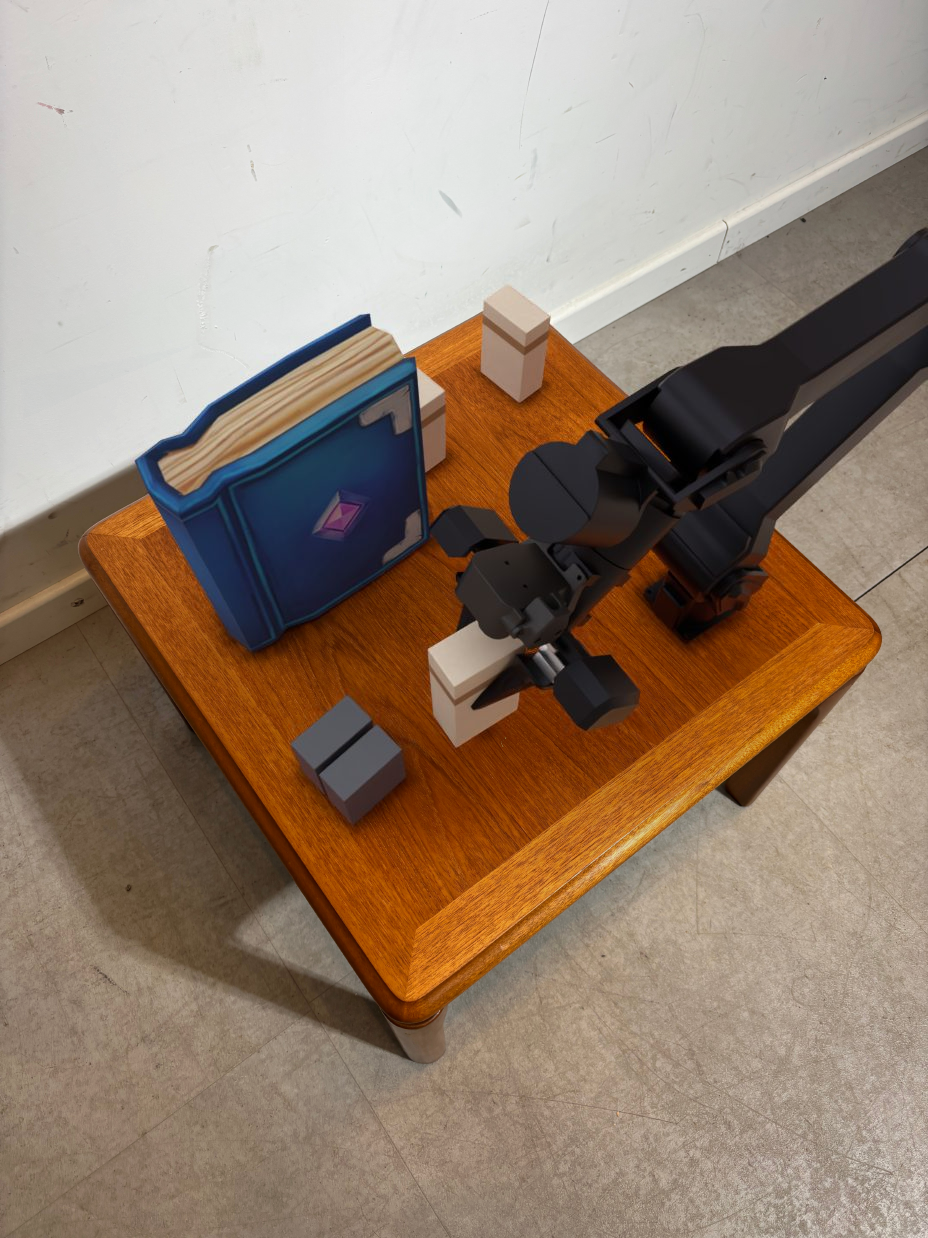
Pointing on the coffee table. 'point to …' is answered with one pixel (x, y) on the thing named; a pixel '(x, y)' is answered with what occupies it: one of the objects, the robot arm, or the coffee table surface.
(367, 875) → the coffee table surface
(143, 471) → the book
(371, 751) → the grey blocks
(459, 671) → the white lidded box
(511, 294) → the cream lidded boxes
